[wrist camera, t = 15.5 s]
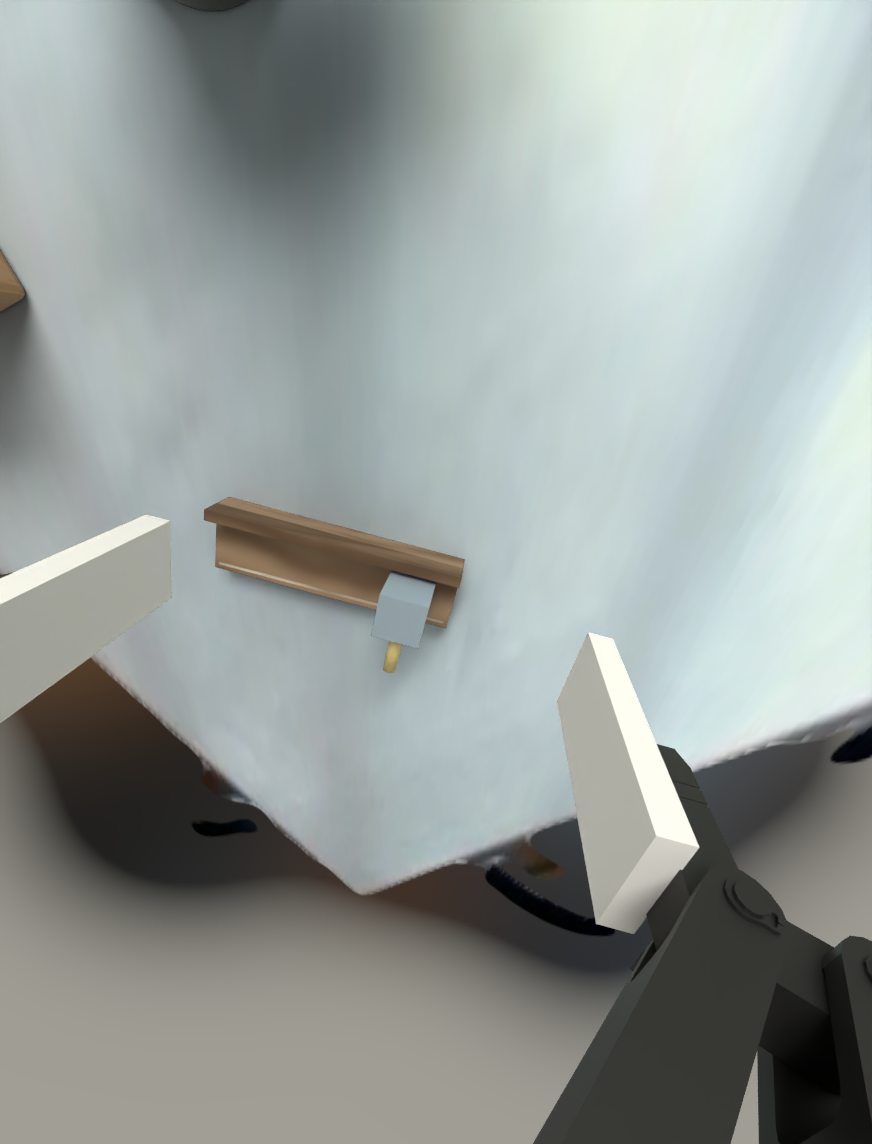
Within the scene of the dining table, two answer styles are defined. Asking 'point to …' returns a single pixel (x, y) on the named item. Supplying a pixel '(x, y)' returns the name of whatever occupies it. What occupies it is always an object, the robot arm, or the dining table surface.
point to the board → (325, 556)
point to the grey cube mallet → (402, 614)
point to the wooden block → (8, 285)
